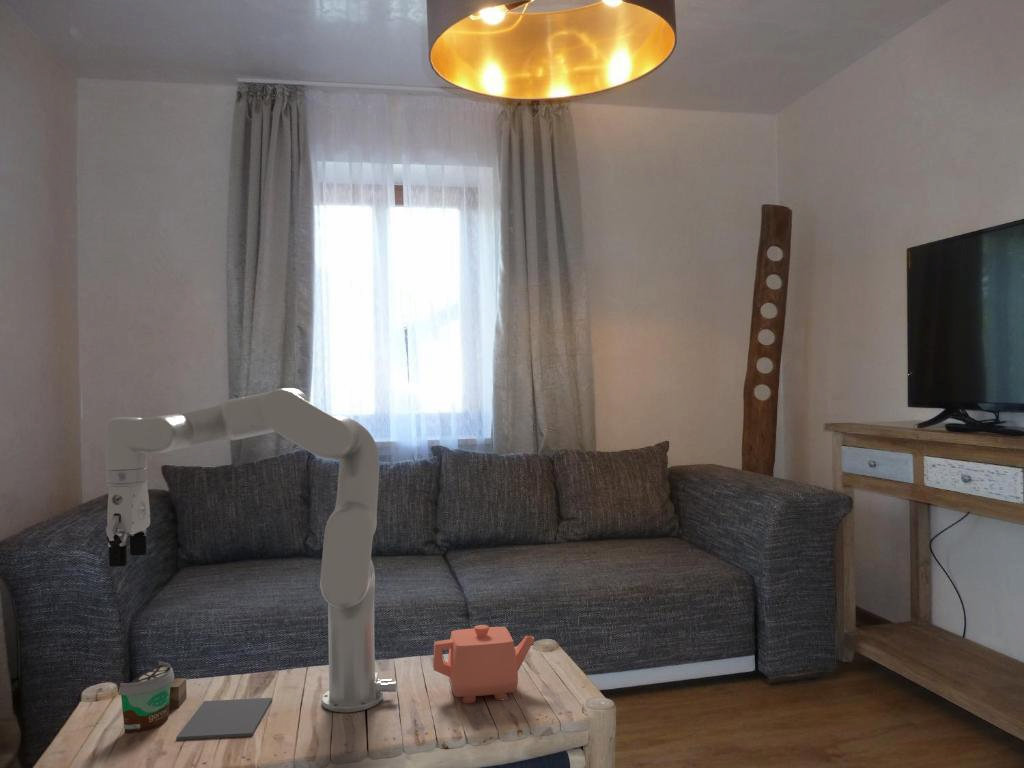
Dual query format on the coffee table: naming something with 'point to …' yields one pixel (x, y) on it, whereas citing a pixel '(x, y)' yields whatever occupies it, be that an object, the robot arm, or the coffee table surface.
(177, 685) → the walnut block
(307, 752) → the coffee table surface
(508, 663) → the teapot
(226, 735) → the mat
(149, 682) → the food container
